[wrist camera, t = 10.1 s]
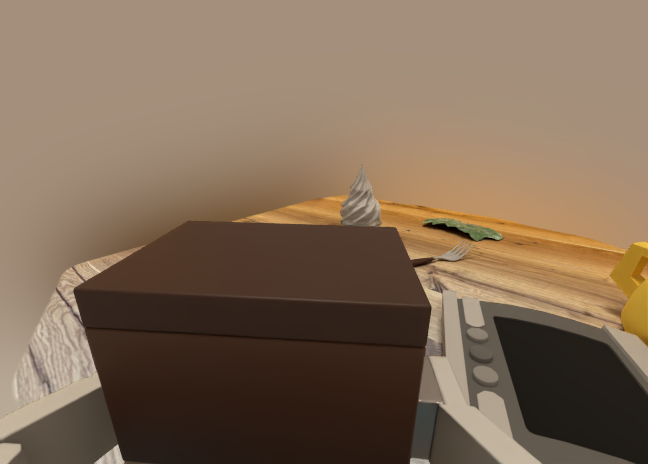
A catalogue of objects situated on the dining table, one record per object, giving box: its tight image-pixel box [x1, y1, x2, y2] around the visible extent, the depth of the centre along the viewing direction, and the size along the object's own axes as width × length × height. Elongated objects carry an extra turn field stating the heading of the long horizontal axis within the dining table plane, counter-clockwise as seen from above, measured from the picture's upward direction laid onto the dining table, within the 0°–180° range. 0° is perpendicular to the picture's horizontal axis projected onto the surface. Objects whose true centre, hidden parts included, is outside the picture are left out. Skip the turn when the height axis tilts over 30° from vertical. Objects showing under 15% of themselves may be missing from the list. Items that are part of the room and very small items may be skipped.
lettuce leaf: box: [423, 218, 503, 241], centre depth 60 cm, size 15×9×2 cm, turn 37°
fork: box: [411, 241, 475, 266], centre depth 45 cm, size 3×16×2 cm, turn 114°
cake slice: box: [73, 221, 431, 464], centre depth 8 cm, size 4×6×9 cm, turn 85°
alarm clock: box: [442, 290, 648, 464], centre depth 22 cm, size 17×5×16 cm
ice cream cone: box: [340, 165, 382, 227], centre depth 38 cm, size 5×5×15 cm
